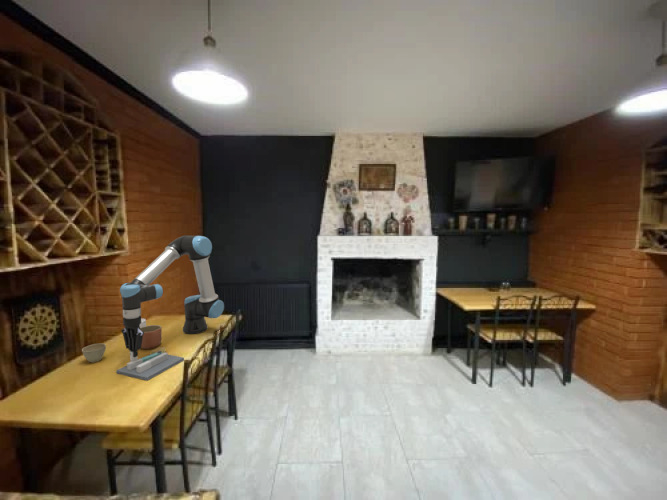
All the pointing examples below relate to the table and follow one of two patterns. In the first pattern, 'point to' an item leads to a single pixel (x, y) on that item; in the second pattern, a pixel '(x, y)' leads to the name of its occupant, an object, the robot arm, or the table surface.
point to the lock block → (158, 350)
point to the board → (152, 370)
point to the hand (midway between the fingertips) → (134, 362)
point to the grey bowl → (94, 352)
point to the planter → (151, 336)
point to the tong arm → (140, 361)
